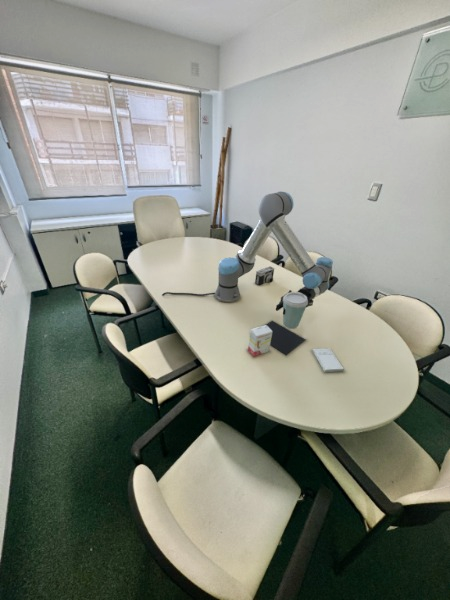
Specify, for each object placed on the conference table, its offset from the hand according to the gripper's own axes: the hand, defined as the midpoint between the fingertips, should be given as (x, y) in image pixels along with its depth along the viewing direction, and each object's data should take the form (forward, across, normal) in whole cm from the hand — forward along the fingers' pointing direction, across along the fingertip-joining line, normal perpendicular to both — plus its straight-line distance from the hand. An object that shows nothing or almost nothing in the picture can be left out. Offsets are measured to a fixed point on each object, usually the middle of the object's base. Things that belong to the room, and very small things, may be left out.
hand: (280, 309), depth 106 cm
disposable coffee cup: (-5, -4, -8) cm, 10 cm away
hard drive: (-6, -23, -18) cm, 30 cm away
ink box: (+11, 0, -18) cm, 21 cm away
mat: (-4, 0, -18) cm, 18 cm away
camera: (-44, +41, -18) cm, 63 cm away
